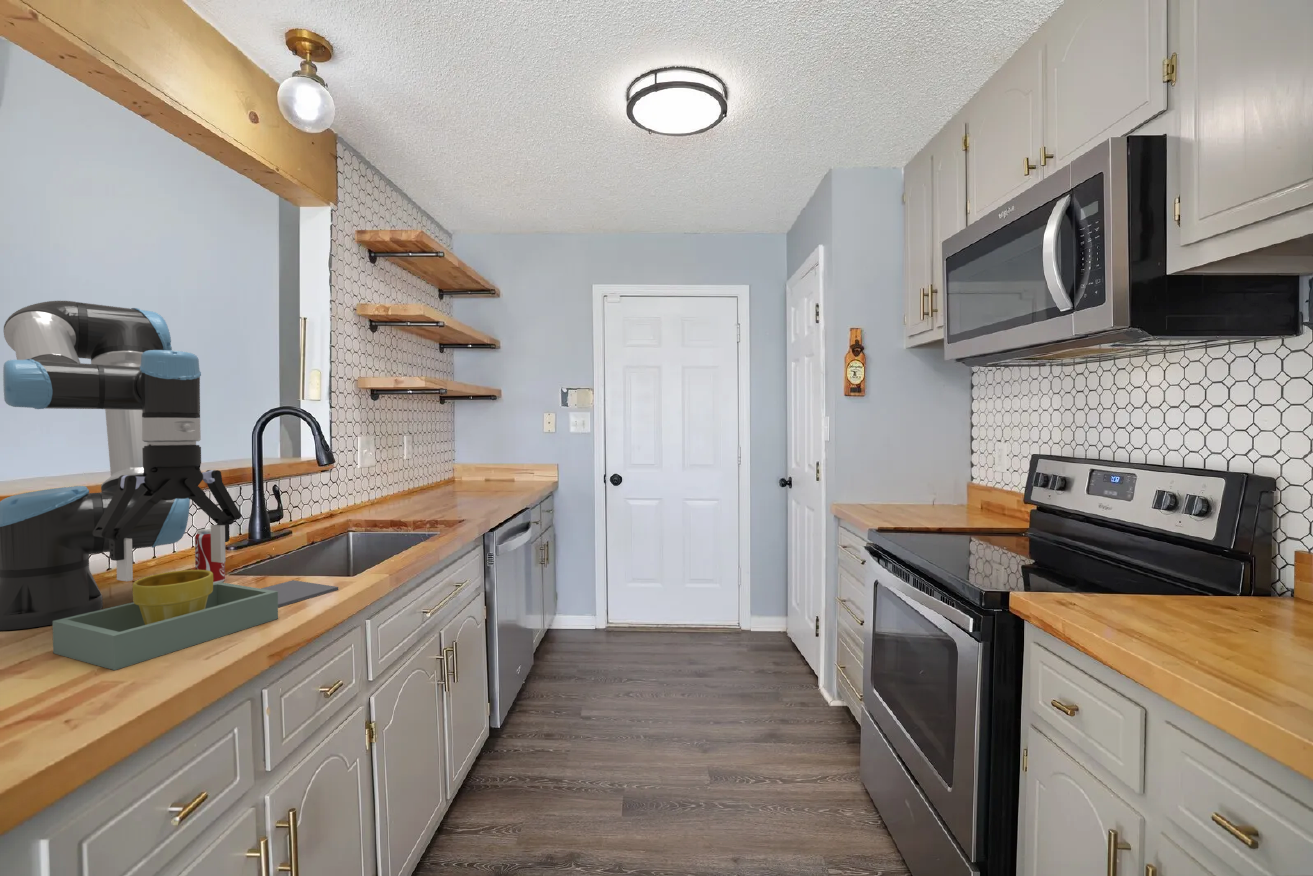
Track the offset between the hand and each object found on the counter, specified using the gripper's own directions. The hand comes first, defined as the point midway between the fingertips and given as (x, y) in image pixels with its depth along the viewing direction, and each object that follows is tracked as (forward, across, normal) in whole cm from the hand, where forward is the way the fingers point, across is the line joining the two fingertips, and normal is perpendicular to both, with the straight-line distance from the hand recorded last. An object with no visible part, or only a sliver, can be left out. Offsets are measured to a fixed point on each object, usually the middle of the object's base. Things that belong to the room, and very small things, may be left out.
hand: (174, 570), depth 97 cm
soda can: (+10, +23, +30) cm, 39 cm away
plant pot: (+11, 0, +1) cm, 11 cm away
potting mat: (+11, +23, +6) cm, 26 cm away
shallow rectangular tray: (+11, 0, +1) cm, 11 cm away
